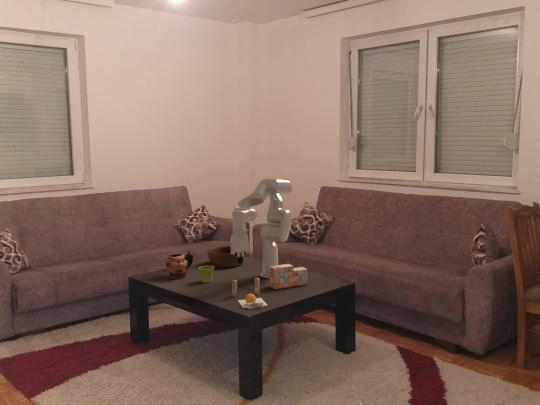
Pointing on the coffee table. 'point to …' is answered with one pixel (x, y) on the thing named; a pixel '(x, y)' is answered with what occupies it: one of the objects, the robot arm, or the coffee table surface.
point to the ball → (250, 298)
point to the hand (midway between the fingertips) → (240, 263)
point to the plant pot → (206, 273)
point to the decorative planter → (176, 265)
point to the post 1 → (234, 288)
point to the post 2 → (257, 286)
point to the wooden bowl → (222, 257)
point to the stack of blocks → (287, 276)
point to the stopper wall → (255, 305)
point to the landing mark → (244, 304)
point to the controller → (188, 259)
